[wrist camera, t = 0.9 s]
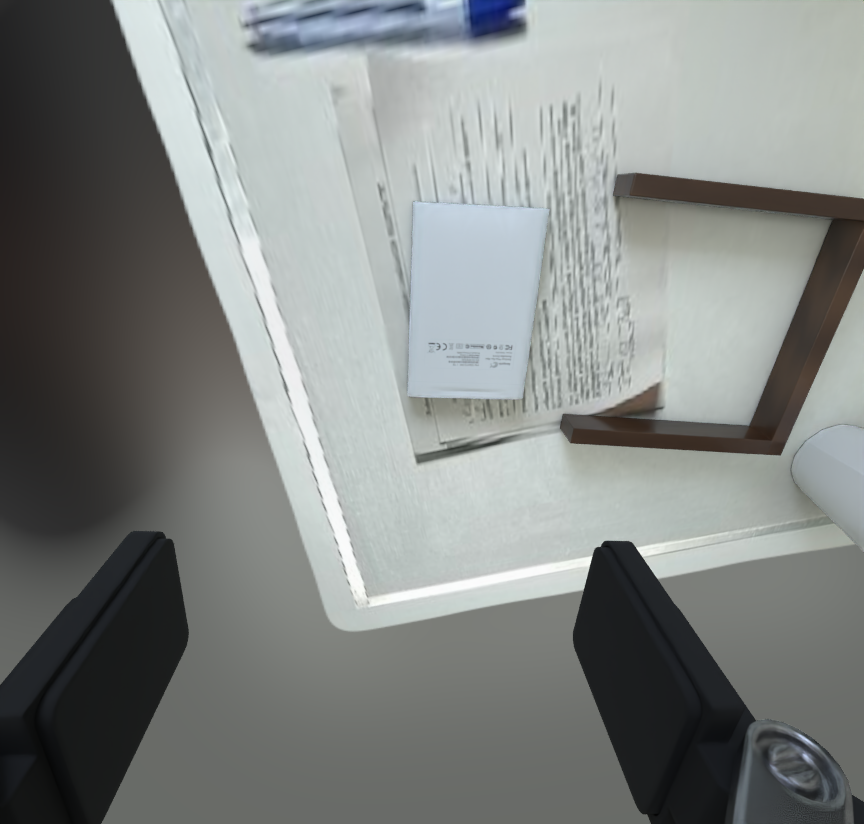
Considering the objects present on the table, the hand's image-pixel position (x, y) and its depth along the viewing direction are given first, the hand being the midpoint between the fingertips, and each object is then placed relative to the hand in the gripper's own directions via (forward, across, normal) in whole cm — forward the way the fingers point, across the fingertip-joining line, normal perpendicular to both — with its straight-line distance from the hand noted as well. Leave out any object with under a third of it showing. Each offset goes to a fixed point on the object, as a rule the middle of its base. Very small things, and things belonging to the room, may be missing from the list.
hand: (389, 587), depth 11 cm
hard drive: (+24, -5, -2) cm, 25 cm away
